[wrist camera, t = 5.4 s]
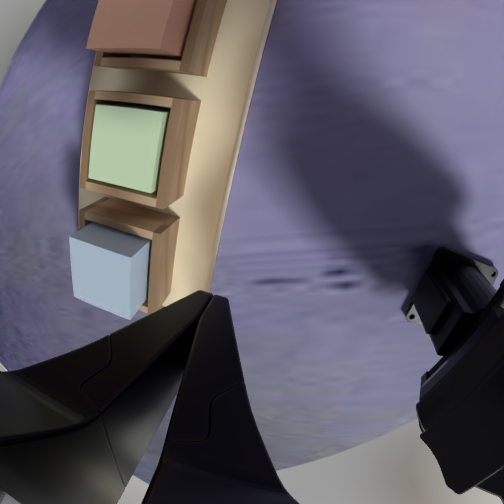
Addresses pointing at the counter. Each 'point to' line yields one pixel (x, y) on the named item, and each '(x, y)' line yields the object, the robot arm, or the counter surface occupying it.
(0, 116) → the counter surface
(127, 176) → the sage key
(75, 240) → the pale blue square block
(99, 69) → the beige wooden block tray
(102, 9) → the terracotta key
